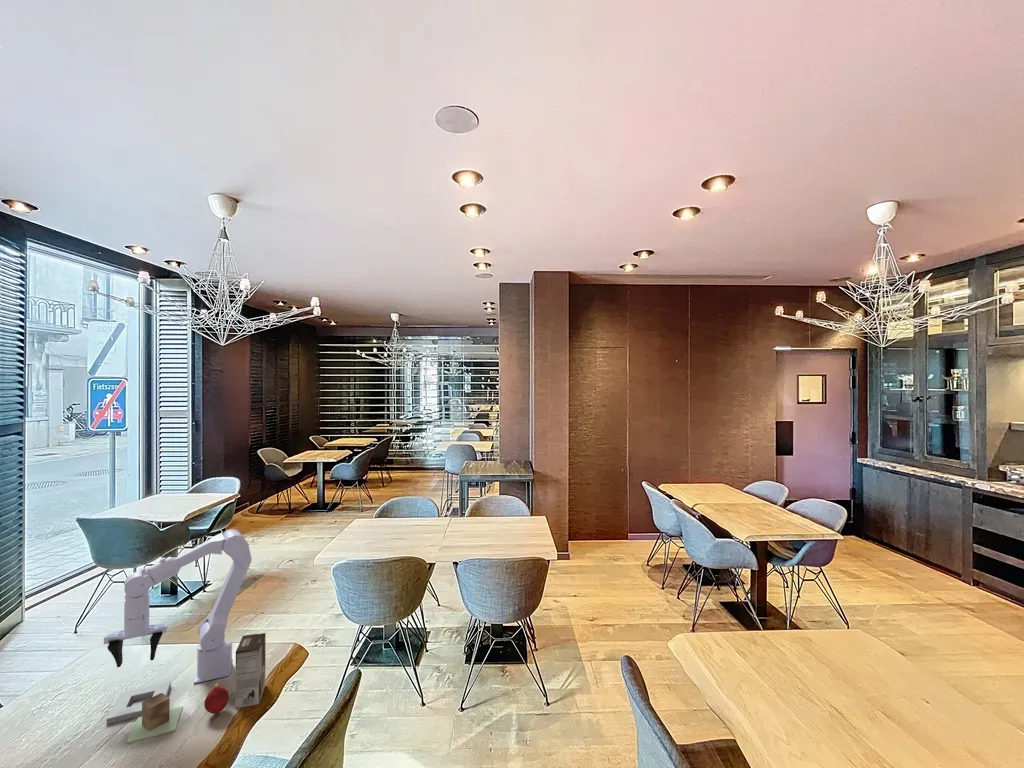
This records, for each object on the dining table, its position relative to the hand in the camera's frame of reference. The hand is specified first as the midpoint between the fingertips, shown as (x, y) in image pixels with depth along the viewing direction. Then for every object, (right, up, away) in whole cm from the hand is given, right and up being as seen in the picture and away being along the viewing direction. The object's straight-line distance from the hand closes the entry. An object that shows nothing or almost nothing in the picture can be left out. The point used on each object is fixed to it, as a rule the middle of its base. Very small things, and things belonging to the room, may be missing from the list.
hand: (136, 662), depth 135 cm
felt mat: (+14, -10, -11) cm, 21 cm away
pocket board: (+4, -10, -3) cm, 11 cm away
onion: (+28, -11, -7) cm, 30 cm away
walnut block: (+14, -10, -11) cm, 20 cm away
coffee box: (+33, -11, +1) cm, 35 cm away
